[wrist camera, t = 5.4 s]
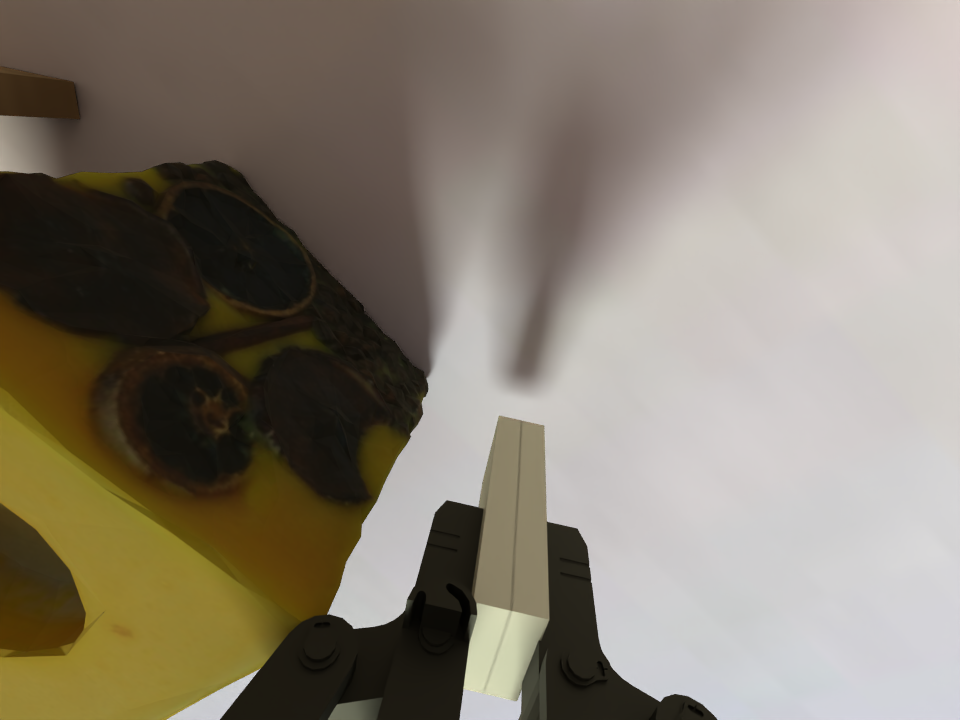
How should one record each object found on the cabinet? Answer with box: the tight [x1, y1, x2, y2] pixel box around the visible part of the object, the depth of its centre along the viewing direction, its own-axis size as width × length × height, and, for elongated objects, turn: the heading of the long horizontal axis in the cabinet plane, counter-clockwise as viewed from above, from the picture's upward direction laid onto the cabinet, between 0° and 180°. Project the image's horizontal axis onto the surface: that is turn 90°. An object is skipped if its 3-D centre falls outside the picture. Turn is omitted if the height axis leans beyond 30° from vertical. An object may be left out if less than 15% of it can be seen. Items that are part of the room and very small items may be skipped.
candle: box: [0, 160, 428, 720], centre depth 13 cm, size 10×10×10 cm
